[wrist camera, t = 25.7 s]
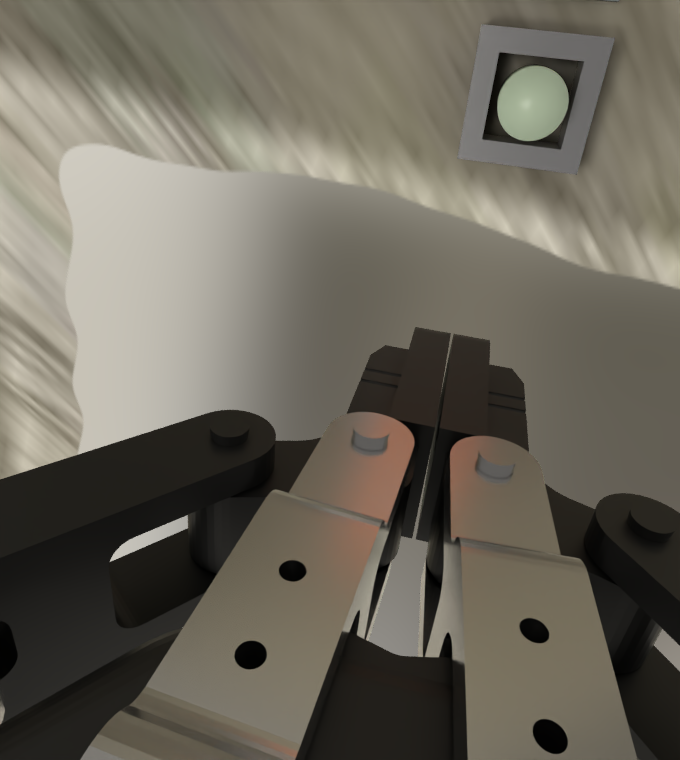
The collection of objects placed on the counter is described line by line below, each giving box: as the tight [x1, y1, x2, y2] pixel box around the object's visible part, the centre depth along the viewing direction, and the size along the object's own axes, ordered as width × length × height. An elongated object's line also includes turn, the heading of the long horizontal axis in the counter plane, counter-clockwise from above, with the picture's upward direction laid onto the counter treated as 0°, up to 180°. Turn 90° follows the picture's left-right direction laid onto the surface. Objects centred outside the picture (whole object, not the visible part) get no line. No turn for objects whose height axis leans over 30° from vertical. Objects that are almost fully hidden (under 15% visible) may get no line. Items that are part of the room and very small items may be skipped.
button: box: [497, 65, 569, 141], centre depth 39 cm, size 4×4×4 cm
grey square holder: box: [457, 24, 615, 175], centre depth 40 cm, size 8×8×3 cm
